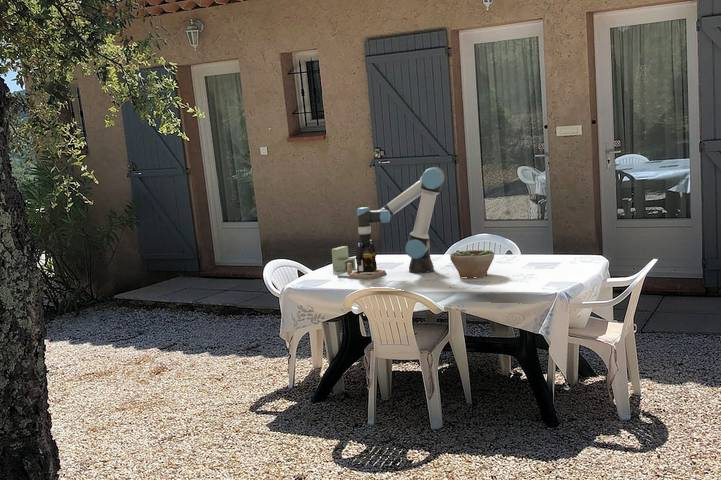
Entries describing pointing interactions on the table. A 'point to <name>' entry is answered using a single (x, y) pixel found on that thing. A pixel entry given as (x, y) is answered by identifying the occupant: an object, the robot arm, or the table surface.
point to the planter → (472, 262)
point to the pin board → (361, 275)
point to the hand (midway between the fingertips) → (367, 268)
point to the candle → (368, 263)
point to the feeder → (341, 259)
